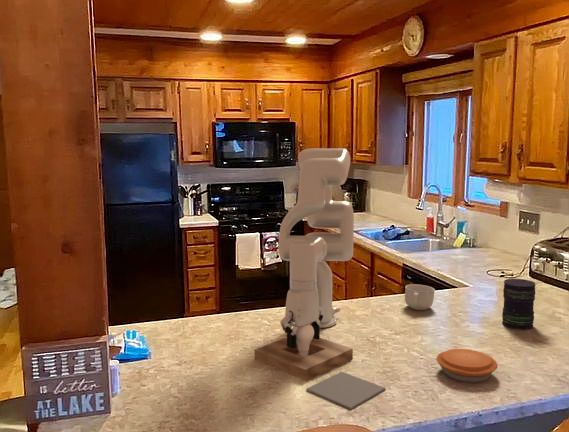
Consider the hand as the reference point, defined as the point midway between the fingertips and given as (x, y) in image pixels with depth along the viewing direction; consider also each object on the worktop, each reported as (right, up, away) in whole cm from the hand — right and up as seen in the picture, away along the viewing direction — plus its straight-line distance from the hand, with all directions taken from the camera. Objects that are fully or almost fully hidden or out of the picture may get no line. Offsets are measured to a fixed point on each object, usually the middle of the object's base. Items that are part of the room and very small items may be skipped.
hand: (303, 342), depth 150 cm
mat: (+10, -7, -19) cm, 23 cm away
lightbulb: (0, -5, +1) cm, 5 cm away
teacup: (+45, +1, +46) cm, 64 cm away
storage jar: (+74, -1, +27) cm, 79 cm away
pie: (+43, -6, -10) cm, 45 cm away
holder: (0, -5, +1) cm, 5 cm away
